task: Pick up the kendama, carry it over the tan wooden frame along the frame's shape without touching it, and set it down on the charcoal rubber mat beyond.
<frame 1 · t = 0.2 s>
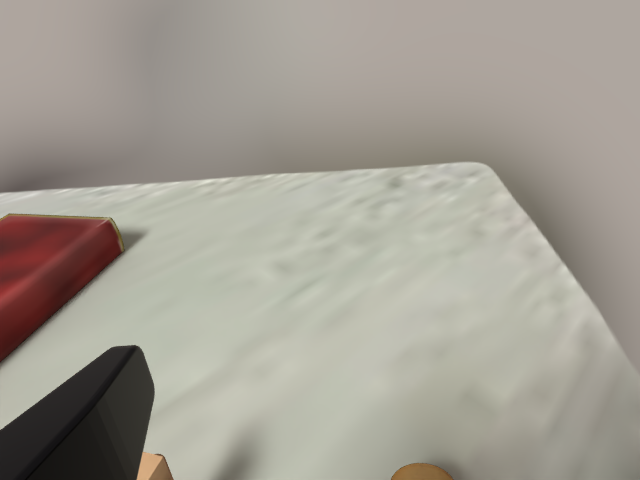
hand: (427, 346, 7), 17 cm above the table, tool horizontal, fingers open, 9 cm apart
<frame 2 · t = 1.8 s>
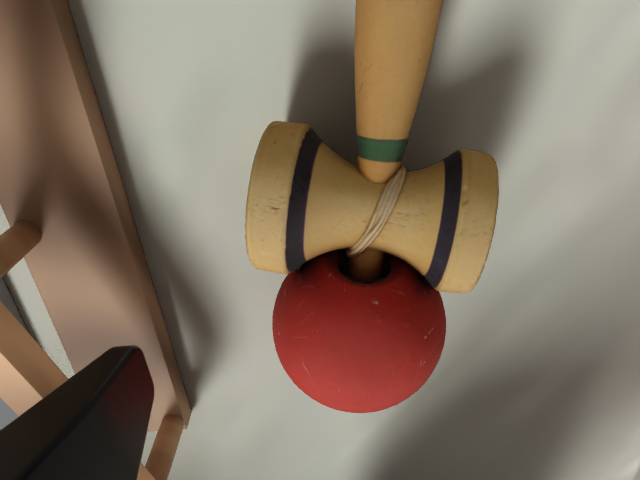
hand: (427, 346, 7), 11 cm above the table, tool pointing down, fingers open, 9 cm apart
kendama: (368, 126, 17), on the table
tan wooden frame: (79, 218, 18), on the table
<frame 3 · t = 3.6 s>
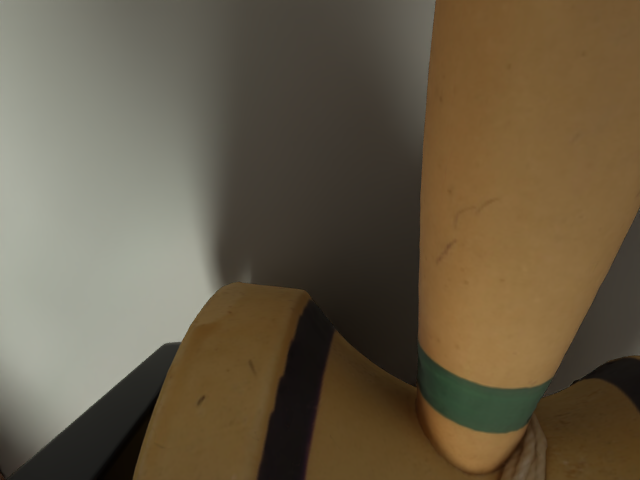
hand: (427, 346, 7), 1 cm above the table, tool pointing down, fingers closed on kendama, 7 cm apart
kendama: (422, 260, 8), on the table, touching gripper
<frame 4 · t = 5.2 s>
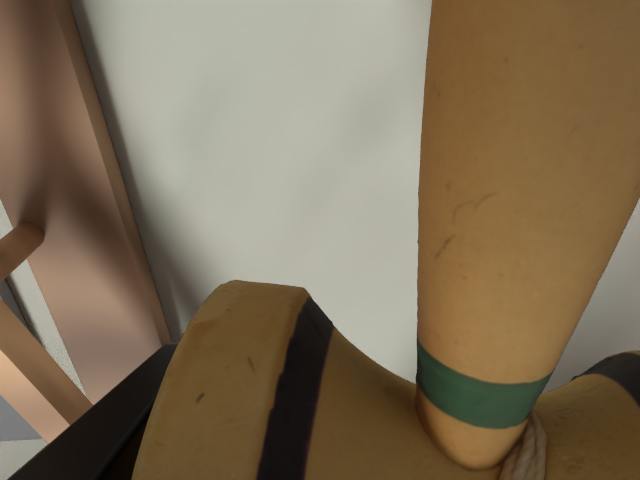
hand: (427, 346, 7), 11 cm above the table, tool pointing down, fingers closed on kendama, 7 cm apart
kendama: (421, 257, 8), point 9 cm above the table, touching gripper
tan wooden frame: (82, 219, 18), on the table
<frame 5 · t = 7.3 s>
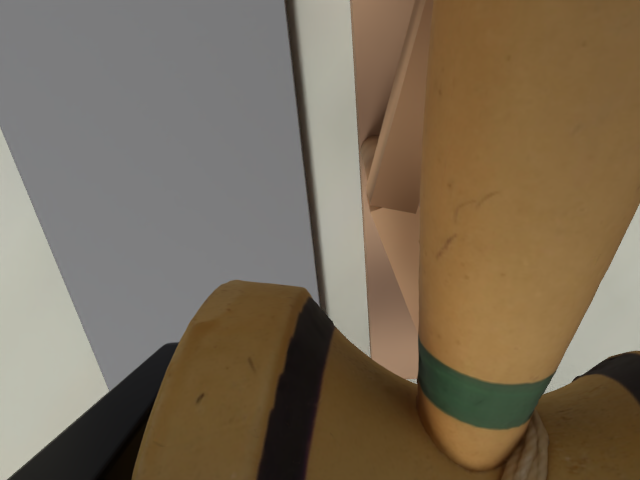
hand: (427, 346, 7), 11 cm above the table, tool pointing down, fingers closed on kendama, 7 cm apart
kendama: (422, 257, 8), point 10 cm above the table, touching gripper
tan wooden frame: (414, 137, 17), on the table
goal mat: (164, 160, 17), on the table
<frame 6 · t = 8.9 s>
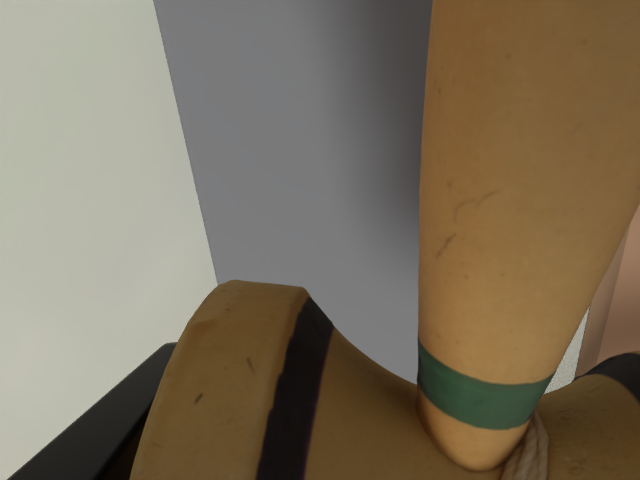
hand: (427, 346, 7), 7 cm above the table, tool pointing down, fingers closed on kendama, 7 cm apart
kendama: (421, 256, 8), point 6 cm above the table, touching gripper
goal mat: (374, 175, 14), on the table
when the fingers open (3 cm above the table, at t = 10.3 s): kendama drops 2 cm, resting on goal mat.
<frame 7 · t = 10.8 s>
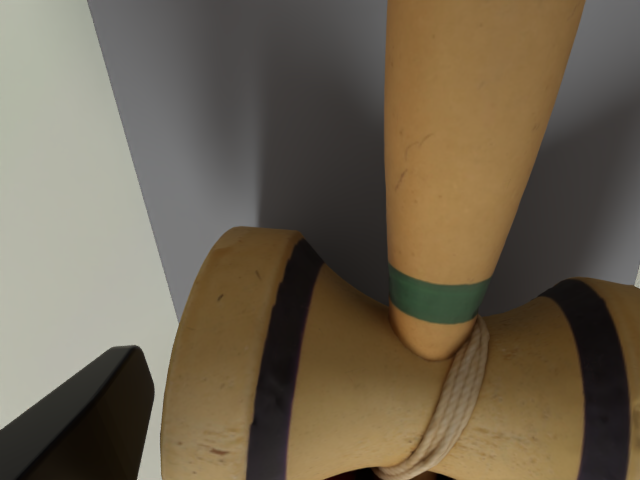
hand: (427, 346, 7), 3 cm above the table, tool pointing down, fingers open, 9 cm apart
kendama: (399, 212, 10), resting on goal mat
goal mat: (396, 240, 11), on the table
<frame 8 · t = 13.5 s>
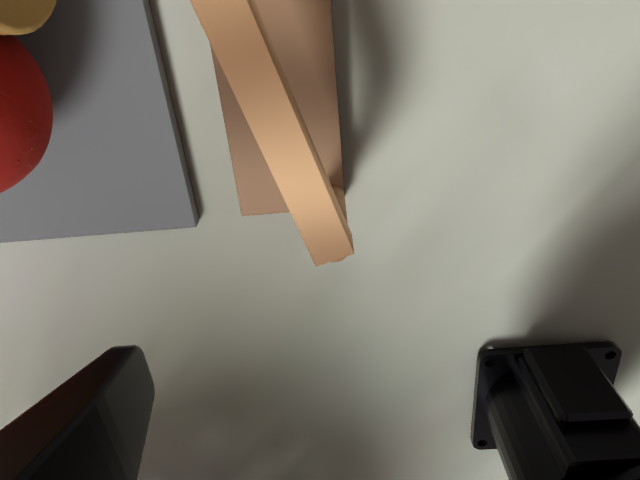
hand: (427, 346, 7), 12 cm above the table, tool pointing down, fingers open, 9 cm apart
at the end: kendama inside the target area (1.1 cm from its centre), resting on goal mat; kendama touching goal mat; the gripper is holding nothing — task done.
